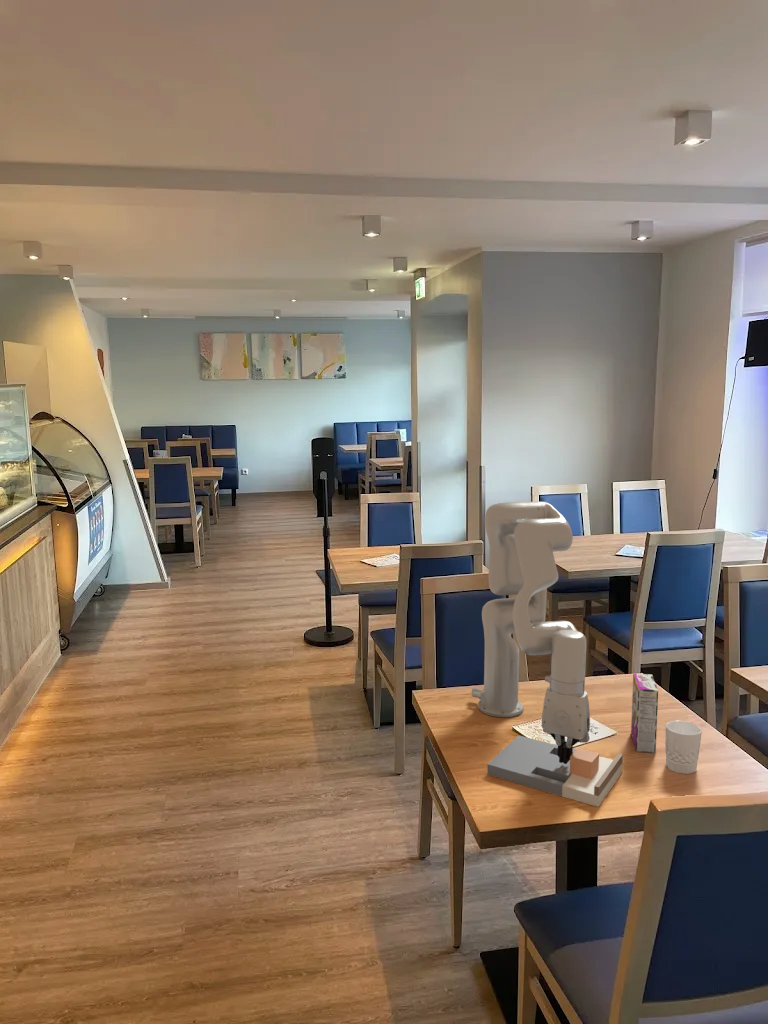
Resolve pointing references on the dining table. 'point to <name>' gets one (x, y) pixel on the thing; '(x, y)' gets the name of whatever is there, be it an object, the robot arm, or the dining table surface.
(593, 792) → the board
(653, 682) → the candy bar box
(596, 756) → the block
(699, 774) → the dining table surface
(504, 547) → the robot arm
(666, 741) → the white cup
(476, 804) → the dining table surface
